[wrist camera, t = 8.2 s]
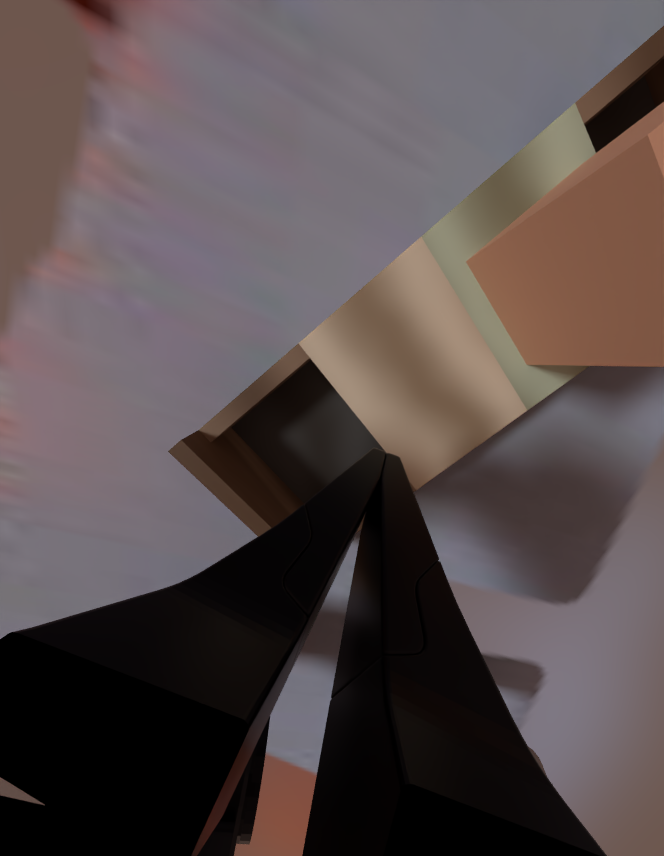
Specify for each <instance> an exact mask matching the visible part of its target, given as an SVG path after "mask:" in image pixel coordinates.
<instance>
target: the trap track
mask: <svg viewBox="0 0 664 856" xmlns="http://www.w3.org/2000/svg"><path fill="white" fill-rule="evenodd" d="M663 102H664V26H663V27H662V28H661V29H660V30H658V31H657V32H656V33H655V34H654V35H653V36H651V37H650V38H649V39H648V40H647V41H646V42H645V43H643V44H642V45H641V46H640V47H639V48H638V49H637V50H635V51H634V52H633V53H632V54H631V55H630V56H628V57H627V58H626V59H625V60H624V61H623V62H622V63H620V64H619V65H618V66H617V67H616V68H615V69H614V70H612V71H611V72H610V73H609V74H608V75H607V76H605V77H604V78H603V79H602V80H601V81H600V82H599V83H597V84H596V85H595V86H594V87H593V88H592V89H591V90H589V91H588V92H587V93H586V94H585V95H584V96H582V97H581V98H580V99H579V100H578V101H577V102H576V103H574V104H573V105H572V106H571V107H570V108H569V109H568V110H566V111H565V112H564V113H563V114H562V115H561V116H559V117H558V118H557V119H556V120H555V121H554V122H553V123H551V124H550V125H549V126H548V127H547V128H546V129H545V130H543V131H542V132H541V133H540V134H539V135H538V136H536V137H535V138H534V139H533V140H532V141H531V142H530V143H528V144H527V145H526V146H525V147H524V148H523V149H522V150H520V151H519V152H518V153H517V154H516V155H515V156H513V157H512V158H511V159H510V160H509V161H508V162H507V163H505V164H504V165H503V166H502V167H501V168H500V169H499V170H497V171H496V172H495V173H494V174H493V175H492V176H490V177H489V178H488V179H487V180H486V181H485V182H484V183H482V184H481V185H480V186H479V187H478V188H477V189H476V190H474V191H473V192H472V193H471V194H470V195H469V196H467V197H466V198H465V199H464V200H463V201H462V202H461V203H459V204H458V205H457V206H456V207H455V208H454V209H453V210H451V211H450V212H449V213H448V214H447V215H446V216H444V217H443V218H442V219H441V220H440V221H439V222H438V223H436V224H435V225H434V226H433V227H432V228H431V229H430V230H428V231H427V232H426V233H425V234H424V235H423V236H421V237H420V238H419V239H418V240H417V241H416V242H415V243H413V244H412V245H411V246H410V247H409V248H408V249H407V250H405V251H404V252H403V253H402V254H401V255H400V256H398V257H397V258H396V259H395V260H394V261H393V262H392V263H390V264H389V265H388V266H387V267H386V268H385V269H384V270H382V271H381V272H380V273H379V274H378V275H377V276H375V277H374V278H373V279H372V280H371V281H370V282H369V283H367V284H366V285H365V286H364V287H363V288H362V289H361V290H359V291H358V292H357V293H356V294H355V295H354V296H352V297H351V298H350V299H349V300H348V301H347V302H346V303H344V304H343V305H342V306H341V307H340V308H339V309H338V310H336V311H335V312H334V313H333V314H332V315H331V316H329V317H328V318H327V319H326V320H325V321H324V322H323V323H321V324H320V325H319V326H318V327H317V328H316V329H315V330H313V331H312V332H311V333H310V334H309V335H308V336H306V337H305V338H304V339H303V340H302V341H301V342H300V343H298V344H297V345H296V346H295V347H294V348H293V349H292V350H290V351H289V352H288V353H287V354H286V355H285V356H283V357H282V358H281V359H280V360H279V361H278V362H277V363H275V364H274V365H273V366H272V367H271V368H270V369H268V370H267V371H266V372H265V373H264V374H263V375H262V376H260V377H259V378H258V379H257V380H256V381H255V382H254V383H252V384H251V385H250V386H249V387H248V388H247V389H245V390H244V391H243V392H242V393H241V394H240V395H239V396H237V397H236V398H235V399H234V400H233V401H232V402H231V403H229V404H228V405H227V406H226V407H225V408H224V409H222V410H221V411H220V412H219V413H218V414H217V415H216V416H214V417H213V418H212V419H211V420H210V421H209V422H208V423H206V424H205V425H204V426H203V427H202V428H201V429H199V430H198V431H196V432H195V433H193V434H191V435H189V436H187V437H186V438H184V439H182V440H181V441H179V442H178V443H177V444H176V445H175V446H174V447H173V448H171V449H170V450H169V451H168V452H169V453H170V454H171V455H172V456H173V457H175V458H176V459H177V460H178V461H179V462H180V463H181V464H182V465H183V466H184V467H185V468H186V469H187V470H188V471H189V472H190V473H191V474H193V475H194V476H195V477H196V478H197V479H198V480H199V481H200V482H201V483H202V484H203V485H204V486H205V487H206V488H207V489H208V490H209V491H210V492H212V493H213V494H214V495H215V496H216V497H217V498H218V499H219V500H220V501H221V502H222V503H223V504H224V505H225V506H226V507H227V508H228V509H230V510H231V511H232V512H233V513H234V514H235V515H236V516H237V517H238V518H239V519H240V520H241V521H242V522H243V523H244V524H245V525H246V526H248V527H249V528H250V529H251V530H252V531H253V532H254V533H255V534H256V535H257V536H258V537H259V536H260V535H262V534H263V533H265V532H266V531H268V530H269V529H271V528H272V527H274V526H275V525H277V524H278V523H280V522H281V521H282V520H284V519H285V518H286V517H288V516H289V515H290V514H292V513H293V512H294V511H295V510H297V509H298V508H299V507H300V506H302V505H304V504H305V502H307V501H308V500H309V499H310V498H312V497H313V496H314V495H315V494H317V493H318V492H319V491H320V490H322V489H323V488H324V487H325V486H326V485H328V484H329V483H330V482H331V481H333V480H334V479H335V478H336V477H338V476H339V475H340V474H341V473H343V472H344V471H345V470H346V469H348V468H349V467H350V466H351V465H352V464H354V463H355V462H356V461H357V460H359V459H360V458H361V457H362V456H364V455H365V454H366V453H367V452H369V451H370V450H371V449H372V448H377V449H380V450H383V451H385V452H386V454H387V453H391V454H394V455H396V456H399V457H400V459H401V461H402V464H403V466H404V469H405V472H406V474H407V477H408V479H409V482H410V485H411V487H412V490H413V492H414V491H416V490H417V489H419V488H420V487H421V486H423V485H424V484H426V483H427V482H428V481H430V480H431V479H433V478H434V477H435V476H437V475H438V474H440V473H441V472H442V471H444V470H445V469H446V468H448V467H449V466H451V465H452V464H453V463H455V462H456V461H458V460H459V459H460V458H462V457H463V456H465V455H466V454H467V453H469V452H470V451H472V450H473V449H474V448H476V447H477V446H479V445H480V444H481V443H483V442H484V441H486V440H487V439H488V438H490V437H491V436H493V435H494V434H495V433H497V432H498V431H500V430H501V429H502V428H504V427H505V426H506V425H508V424H509V423H511V422H512V421H513V420H515V419H516V418H518V417H519V416H520V415H522V414H523V413H525V412H526V411H527V410H529V409H530V408H532V407H533V406H534V405H536V404H537V403H539V402H540V401H541V400H543V399H544V398H546V397H547V396H548V395H550V394H551V393H553V392H554V391H555V390H557V389H558V388H560V387H561V386H562V385H564V384H565V383H566V382H568V381H569V380H571V379H572V378H573V377H575V376H576V375H578V374H579V373H580V372H582V371H583V370H585V369H586V368H587V367H589V366H574V365H527V364H526V363H525V361H524V359H523V358H522V356H521V354H520V353H519V351H518V349H517V347H516V346H515V344H514V342H513V341H512V339H511V337H510V336H509V334H508V332H507V331H506V329H505V327H504V325H503V324H502V322H501V320H500V319H499V317H498V315H497V314H496V312H495V310H494V309H493V307H492V305H491V303H490V302H489V300H488V298H487V297H486V295H485V293H484V292H483V290H482V288H481V287H480V285H479V283H478V281H477V280H476V278H475V276H474V275H473V273H472V271H471V270H470V268H469V266H468V265H467V263H466V261H467V260H468V259H469V258H471V257H472V256H473V255H474V254H475V253H477V252H478V251H479V250H480V249H481V248H483V247H484V246H485V245H486V244H487V243H489V242H490V241H491V240H492V239H493V238H494V237H496V236H497V235H498V234H499V233H500V232H502V231H503V230H504V229H505V228H506V227H508V226H509V225H510V224H511V223H512V222H514V221H515V220H516V219H517V218H518V217H519V216H521V215H522V214H523V213H524V212H525V211H527V210H528V209H529V208H530V207H531V206H533V205H534V204H535V203H536V202H537V201H539V200H540V199H541V198H542V197H543V196H544V195H546V194H547V193H548V192H549V191H550V190H552V189H553V188H554V187H555V186H556V185H558V184H559V183H560V182H561V181H562V180H564V179H565V178H566V177H567V176H568V175H569V174H571V173H572V172H573V171H574V170H575V169H577V168H578V167H579V166H580V165H581V164H583V163H584V162H585V161H587V160H588V159H589V158H590V157H592V156H593V155H594V154H596V153H597V152H598V151H600V150H601V149H602V148H604V147H605V146H606V145H608V144H609V143H610V142H611V141H613V140H614V139H615V138H617V137H618V136H619V135H621V134H622V133H623V132H625V131H626V130H627V129H629V128H630V127H631V126H633V125H634V124H635V123H636V122H638V121H639V120H640V119H642V118H643V117H644V116H646V115H647V114H648V113H650V112H651V111H652V110H654V109H655V108H656V107H657V106H659V105H660V104H661V103H663ZM364 516H365V515H364ZM363 519H364V517H363ZM363 519H362V522H361V524H360V526H359V528H358V530H357V532H359V531H360V530H361V529H362V524H363ZM357 532H356V533H357Z"/></svg>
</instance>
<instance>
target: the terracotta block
mask: <svg viewBox="0 0 664 856" xmlns="http://www.w3.org/2000/svg"><path fill="white" fill-rule="evenodd" d="M466 263H467V265H468V266H469V268H470V270H471V271H472V273H473V275H474V276H475V278H476V280H477V281H478V283H479V285H480V287H481V288H482V290H483V292H484V293H485V295H486V297H487V298H488V300H489V302H490V303H491V305H492V307H493V309H494V310H495V312H496V314H497V315H498V317H499V319H500V320H501V322H502V324H503V325H504V327H505V329H506V331H507V332H508V334H509V336H510V337H511V339H512V341H513V342H514V344H515V346H516V347H517V349H518V351H519V353H520V354H521V356H522V358H523V359H524V361H525V363H526V364H527V365H574V366H643V367H664V102H663V103H661V104H660V105H659V106H657V107H656V108H655V109H654V110H652V111H651V112H650V113H648V114H647V115H646V116H644V117H643V118H642V119H640V120H639V121H638V122H636V123H635V124H634V125H633V126H631V127H630V128H629V129H627V130H626V131H625V132H623V133H622V134H621V135H619V136H618V137H617V138H615V139H614V140H613V141H611V142H610V143H609V144H608V145H606V146H605V147H604V148H602V149H601V150H600V151H598V152H597V153H596V154H594V155H593V156H592V157H590V158H589V159H588V160H587V161H585V162H584V163H583V164H581V165H580V166H579V167H578V168H577V169H575V170H574V171H573V172H572V173H571V174H569V175H568V176H567V177H566V178H565V179H564V180H562V181H561V182H560V183H559V184H558V185H556V186H555V187H554V188H553V189H552V190H550V191H549V192H548V193H547V194H546V195H544V196H543V197H542V198H541V199H540V200H539V201H537V202H536V203H535V204H534V205H533V206H531V207H530V208H529V209H528V210H527V211H525V212H524V213H523V214H522V215H521V216H519V217H518V218H517V219H516V220H515V221H514V222H512V223H511V224H510V225H509V226H508V227H506V228H505V229H504V230H503V231H502V232H500V233H499V234H498V235H497V236H496V237H494V238H493V239H492V240H491V241H490V242H489V243H487V244H486V245H485V246H484V247H483V248H481V249H480V250H479V251H478V252H477V253H475V254H474V255H473V256H472V257H471V258H469V259H468V260H467V261H466Z"/></svg>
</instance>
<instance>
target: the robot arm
mask: <svg viewBox="0 0 664 856" xmlns="http://www.w3.org/2000/svg"><path fill="white" fill-rule="evenodd" d="M364 515H365V516H364ZM363 517H364V519H363ZM362 519H363V524H362V529H361V535H360V540H359V546H358V551H357V557H356V562H355V568H354V573H353V579H352V584H351V590H350V596H349V601H348V607H347V612H346V618H345V623H344V629H343V634H342V640H341V645H340V651H339V656H338V662H337V667H336V673H335V678H334V684H333V689H332V695H331V698H332V699H331V700H330V706H329V711H328V717H327V722H326V728H325V733H324V739H323V744H322V750H321V755H320V761H319V767H318V772H317V778H316V783H315V789H314V795H313V800H312V805H311V811H310V816H309V822H308V828H307V833H306V838H305V844H304V850H303V855H302V856H607V855H606V854H605V853H604V851H603V850H602V849H601V848H600V846H599V845H598V844H597V842H596V841H595V840H594V839H593V837H592V836H591V835H590V833H589V832H588V831H587V830H586V828H585V827H584V826H583V825H582V823H581V822H580V821H579V819H578V818H577V817H576V816H575V814H574V813H573V812H572V810H571V809H570V808H569V807H568V806H567V804H566V803H565V801H564V800H563V799H562V797H561V796H560V795H559V793H558V792H557V791H556V789H555V788H554V787H553V785H552V784H551V782H550V781H549V779H548V778H547V776H546V775H545V773H544V772H543V770H542V769H541V767H540V766H539V764H538V762H537V761H536V759H535V758H534V756H533V754H532V753H531V751H530V749H529V748H528V746H527V744H526V742H525V741H524V739H523V737H522V735H521V733H520V731H519V730H518V728H517V726H516V724H515V722H514V720H513V718H512V716H511V714H510V712H509V710H508V708H507V706H506V704H505V702H504V700H503V698H502V696H501V693H500V691H499V689H498V687H497V685H496V683H495V681H494V679H493V677H492V675H491V673H490V671H489V669H488V667H487V665H486V663H485V661H484V659H483V657H482V655H481V653H480V651H479V649H478V646H477V645H476V642H475V641H474V638H473V636H472V634H471V632H470V630H469V628H468V626H467V624H466V621H465V619H464V617H463V615H462V613H461V611H460V609H459V606H458V604H457V602H456V600H455V597H454V595H453V592H452V590H451V588H450V585H449V583H448V580H447V578H446V575H445V573H444V570H443V567H442V565H441V562H440V561H438V560H439V557H438V555H437V552H436V549H435V547H434V544H433V542H432V539H431V536H430V534H429V531H428V529H427V526H426V523H425V521H424V518H423V516H422V513H421V510H420V508H419V505H418V503H417V500H416V498H415V495H414V492H413V490H412V487H411V485H410V482H409V479H408V477H407V474H406V472H405V469H404V466H403V464H402V461H401V459H400V457H399V456H396V455H394V454H391V453H387V454H386V452H385V451H383V450H380V449H377V448H372V449H371V450H370V451H369V452H367V453H366V454H365V455H364V456H362V457H361V458H360V459H359V460H357V461H356V462H355V463H354V464H352V465H351V466H350V467H349V468H348V469H346V470H345V471H344V472H343V473H341V474H340V475H339V476H338V477H336V478H335V479H334V480H333V481H331V482H330V483H329V484H328V485H326V486H325V487H324V488H323V489H322V490H320V491H319V492H318V493H317V494H315V495H314V496H313V497H312V498H310V499H309V500H308V501H307V502H305V504H304V505H302V506H300V507H299V508H298V509H297V510H295V511H294V512H293V513H292V514H290V515H289V516H288V517H286V518H285V519H284V520H282V521H281V522H280V523H278V524H277V525H275V526H274V527H272V528H271V529H269V530H268V531H266V532H265V533H263V534H262V535H260V536H259V537H257V538H255V539H254V540H252V541H251V542H249V543H247V544H246V545H244V546H242V547H241V548H239V549H238V550H236V551H234V552H233V553H231V554H230V555H228V556H226V557H225V558H223V559H221V560H220V561H218V562H217V563H215V564H213V565H212V566H210V567H209V568H207V569H205V570H203V571H202V572H200V573H198V574H196V575H195V576H193V577H191V578H189V579H187V580H184V581H182V582H180V583H178V584H175V585H172V586H170V587H167V588H164V589H160V590H157V591H154V592H150V593H147V594H144V595H140V596H137V597H133V598H130V599H127V600H123V601H120V602H116V603H113V604H110V605H106V606H103V607H100V608H96V609H93V610H89V611H86V612H83V613H79V614H76V615H72V616H69V617H66V618H62V619H59V620H56V621H52V622H49V623H45V624H42V625H39V626H35V627H32V628H28V629H24V630H19V631H15V632H11V633H9V634H7V635H6V636H4V637H3V638H1V639H0V856H234V851H235V846H236V843H237V844H249V843H250V840H251V836H252V831H253V826H254V820H255V816H256V810H257V804H258V798H259V792H260V786H261V780H262V773H263V767H264V760H265V753H266V745H267V737H268V729H269V721H270V714H271V712H272V710H273V708H274V706H275V704H276V702H277V700H278V697H279V695H280V693H281V691H282V689H283V687H284V685H285V683H286V681H287V678H288V676H289V674H290V672H291V670H292V668H293V666H294V664H295V661H296V659H297V657H298V655H299V653H300V651H301V649H302V647H303V645H304V642H305V640H306V638H307V636H308V634H309V632H310V630H311V628H312V626H313V623H314V621H315V619H316V617H317V615H318V613H319V611H320V609H321V606H322V604H323V602H324V600H325V598H326V596H327V594H328V592H329V590H330V587H331V585H332V583H333V581H334V579H335V577H336V575H337V573H338V571H339V568H340V566H341V564H342V562H343V560H344V558H345V556H346V554H347V552H348V549H349V547H350V545H351V543H352V541H353V539H354V537H355V535H356V532H357V530H358V528H359V526H360V524H361V522H362Z"/></svg>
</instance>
